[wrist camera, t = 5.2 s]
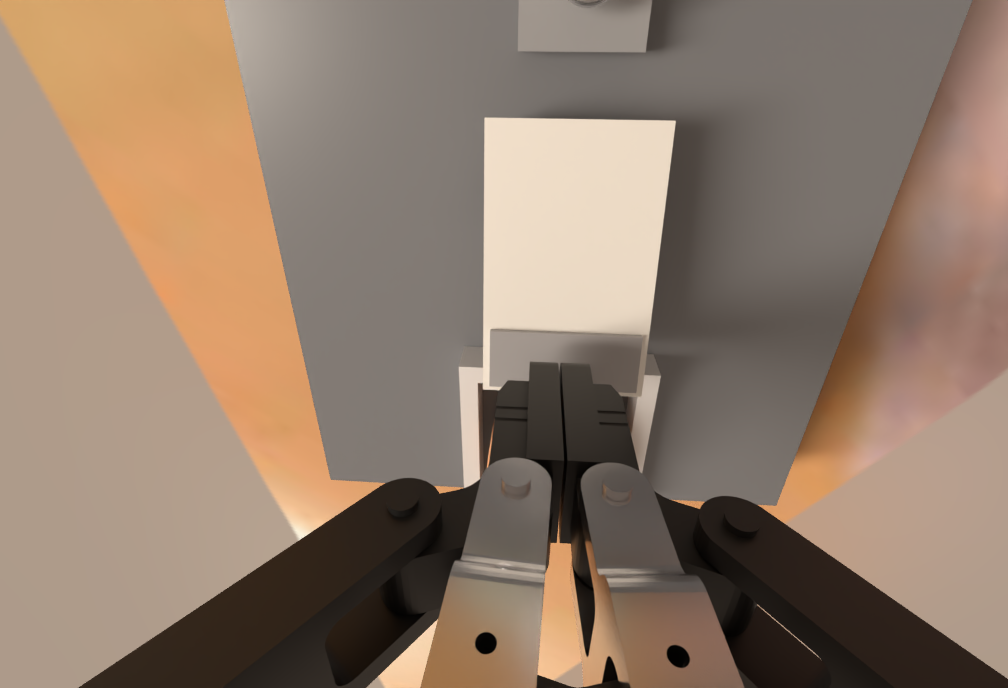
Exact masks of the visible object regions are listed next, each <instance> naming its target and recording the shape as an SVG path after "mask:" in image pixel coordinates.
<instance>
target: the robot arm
mask: <svg viewBox="0 0 1008 688" xmlns="http://www.w3.org/2000/svg"><path fill="white" fill-rule="evenodd" d="M558 522H559V538H560V543H571V551H572V562H571V571H570V582H571V589H572V596H573V603H574V610H575V617H576V625H577V632H578V639H579V646H580V653H581V660H582V669H583V687H581V688H1008V679H1007V678H1005V677H1004V676H1003V675H1001V674H1000V673H998V672H997V671H995V670H994V669H993V668H991V667H990V666H988V665H987V664H985V663H984V662H982V661H981V660H979V659H978V658H977V657H975V656H974V655H972V654H971V653H970V652H968V651H967V650H965V649H964V648H962V647H961V646H959V645H958V644H957V643H955V642H954V641H952V640H951V639H949V638H948V637H947V636H945V635H944V634H942V633H941V632H939V631H938V630H936V629H935V628H934V627H932V626H931V625H929V624H928V623H926V622H925V621H924V620H922V619H920V618H919V617H918V616H916V615H915V614H913V613H912V612H910V611H909V610H908V609H906V608H905V607H903V606H902V605H900V604H899V603H897V602H896V601H895V600H893V599H892V598H890V597H889V596H887V595H886V594H885V593H883V592H882V591H880V590H879V589H877V588H876V587H875V586H873V585H872V584H870V583H869V582H867V581H866V580H865V579H863V578H862V577H860V576H859V575H857V574H856V573H854V572H853V571H852V570H850V569H849V568H847V567H846V566H844V565H843V564H842V563H840V562H839V561H837V560H836V559H834V558H833V557H832V556H830V555H828V554H827V553H826V552H824V551H823V550H821V549H820V548H819V547H817V546H816V545H814V544H813V543H811V542H810V541H809V540H807V539H806V538H804V537H803V536H801V535H800V534H799V533H797V532H796V531H794V530H793V529H791V528H790V527H788V526H787V525H786V524H784V523H783V522H781V521H780V520H778V519H777V518H776V517H774V516H773V515H771V514H770V513H768V512H767V511H765V510H764V509H763V508H761V507H759V506H758V505H756V504H754V503H752V502H750V501H748V500H745V499H742V498H738V497H733V496H718V497H714V498H711V499H709V500H707V501H706V502H705V503H704V504H703V505H702V506H701V508H700V509H697V508H694V507H691V506H688V505H684V504H681V503H678V502H675V501H672V500H669V499H667V498H665V497H663V496H662V495H660V494H658V493H657V492H655V491H654V489H653V487H652V485H651V483H650V481H649V480H648V479H647V478H646V477H645V476H644V475H643V474H642V473H641V472H640V471H639V467H638V462H637V458H636V454H635V450H634V445H633V441H632V437H631V433H630V428H629V427H628V420H627V416H626V414H625V407H624V403H623V399H622V397H621V396H620V394H619V393H618V392H617V391H616V390H615V389H614V388H613V387H612V386H611V385H609V384H593V379H592V373H591V367H590V364H582V363H560V370H559V364H558V363H555V362H532V361H530V366H529V381H515V380H508V381H507V382H506V383H505V384H504V385H503V387H502V388H501V389H500V390H499V391H498V396H497V404H496V412H495V420H494V428H493V436H492V444H491V452H490V460H489V465H488V468H487V469H486V470H485V471H484V472H483V474H482V477H481V478H480V479H479V480H478V481H477V482H475V483H474V484H472V485H470V486H468V487H466V488H463V489H460V490H456V491H451V492H446V493H441V494H439V492H438V491H437V489H436V488H435V487H434V486H433V485H432V484H430V483H428V482H427V481H424V480H421V479H417V478H401V479H396V480H393V481H390V482H387V483H385V484H384V485H382V486H380V487H379V488H377V489H376V490H374V491H373V492H371V493H370V494H368V495H367V496H365V497H364V498H362V499H361V500H359V501H358V502H356V503H355V504H353V505H352V506H350V507H349V508H347V509H346V510H344V511H343V512H341V513H340V514H338V515H337V516H335V517H334V518H332V519H331V520H329V521H328V522H326V523H325V524H323V525H322V526H320V527H319V528H317V529H316V530H314V531H313V532H311V533H310V534H308V535H307V536H305V537H304V538H302V539H301V540H299V541H298V542H296V543H295V544H293V545H292V546H290V547H289V548H287V549H286V550H284V551H283V552H281V553H280V554H278V555H277V556H275V557H274V558H272V559H271V560H269V561H268V562H266V563H265V564H263V565H262V566H260V567H259V568H257V569H256V570H254V571H253V572H251V573H250V574H248V575H247V576H245V577H244V578H242V579H241V580H239V581H238V582H236V583H235V584H233V585H232V586H230V587H229V588H227V589H226V590H224V591H223V592H221V593H220V594H218V595H217V596H215V597H214V598H212V599H211V600H209V601H208V602H206V603H205V604H203V605H202V606H200V607H199V608H197V609H196V610H194V611H193V612H191V613H190V614H188V615H187V616H185V617H184V618H182V619H181V620H179V621H178V622H176V623H175V624H173V625H172V626H170V627H169V628H167V629H166V630H164V631H163V632H161V633H160V634H158V635H157V636H155V637H154V638H152V639H151V640H149V641H148V642H146V643H145V644H143V645H142V646H140V647H139V648H137V649H136V650H134V651H133V652H131V653H130V654H128V655H127V656H125V657H124V658H122V659H121V660H119V661H118V662H116V663H115V664H113V665H112V666H110V667H109V668H107V669H106V670H104V671H103V672H101V673H100V674H98V675H97V676H95V677H94V678H92V679H91V680H89V681H88V682H86V683H85V684H83V685H82V686H80V687H79V688H366V687H367V686H368V685H369V684H370V683H371V682H372V681H373V680H375V678H377V677H378V676H379V675H380V674H381V673H382V672H383V671H384V670H385V669H386V668H387V667H388V666H389V665H390V664H391V663H392V662H393V661H394V660H395V659H396V658H397V657H399V656H400V655H401V654H402V653H403V652H404V651H405V650H406V649H407V648H408V647H409V646H410V645H411V644H412V643H413V642H414V641H415V640H416V639H417V638H418V637H419V636H420V635H421V634H423V633H424V632H425V631H426V630H427V629H428V628H429V627H430V626H431V625H432V624H433V623H434V622H435V621H436V620H437V619H438V622H437V626H436V630H435V634H434V637H433V641H432V645H431V649H430V653H429V657H428V661H427V664H426V668H425V672H424V676H423V680H422V684H421V688H575V687H571V686H567V685H565V684H562V683H559V682H556V681H553V680H550V679H548V678H545V677H542V676H539V675H537V673H538V660H539V647H540V634H541V620H542V607H543V594H544V581H545V572H546V570H547V568H548V565H549V555H550V543H557V532H558ZM757 604H758V605H759V606H760V607H761V608H763V609H764V610H765V611H766V612H767V613H769V614H770V615H771V616H772V617H773V618H775V619H776V620H777V621H778V622H779V623H780V624H782V625H783V626H784V627H785V628H786V629H787V630H789V631H790V632H791V633H792V634H793V635H795V636H796V637H797V638H798V639H799V640H800V641H802V642H803V643H804V644H805V645H807V646H808V647H809V648H810V649H811V650H813V652H815V653H816V654H817V655H818V656H819V657H820V658H821V659H820V658H818V657H817V656H816V655H815V654H813V652H811V651H810V650H809V649H808V648H807V647H805V646H804V645H803V644H802V643H801V642H799V641H798V640H797V639H796V638H795V637H794V636H793V635H791V634H790V633H789V632H788V631H786V630H785V629H784V628H783V627H782V626H781V625H780V624H778V623H777V622H776V621H775V620H774V619H772V618H771V617H770V616H769V615H768V614H767V613H765V612H764V611H763V610H762V609H761V608H760V607H758V606H757Z"/></svg>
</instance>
